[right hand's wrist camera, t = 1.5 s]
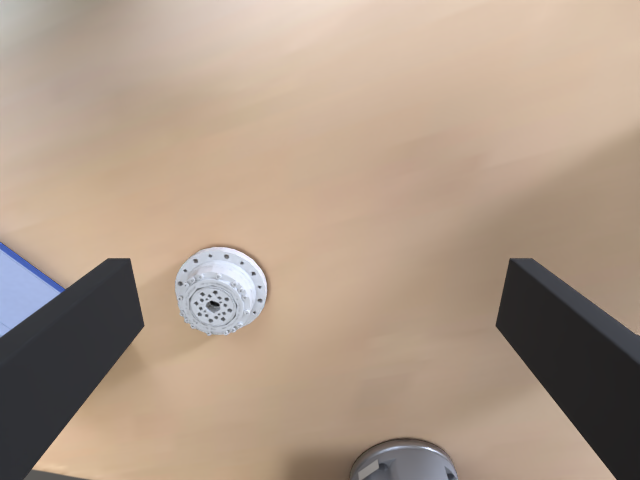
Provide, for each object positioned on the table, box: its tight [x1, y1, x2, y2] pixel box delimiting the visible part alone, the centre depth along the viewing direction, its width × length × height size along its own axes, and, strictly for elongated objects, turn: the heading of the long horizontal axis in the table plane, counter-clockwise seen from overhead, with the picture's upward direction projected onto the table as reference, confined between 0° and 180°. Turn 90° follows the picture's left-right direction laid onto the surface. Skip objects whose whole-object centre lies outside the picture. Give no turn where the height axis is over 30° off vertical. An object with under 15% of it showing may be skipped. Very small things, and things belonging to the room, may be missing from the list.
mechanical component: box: [175, 247, 267, 336], centre depth 38 cm, size 10×4×10 cm
